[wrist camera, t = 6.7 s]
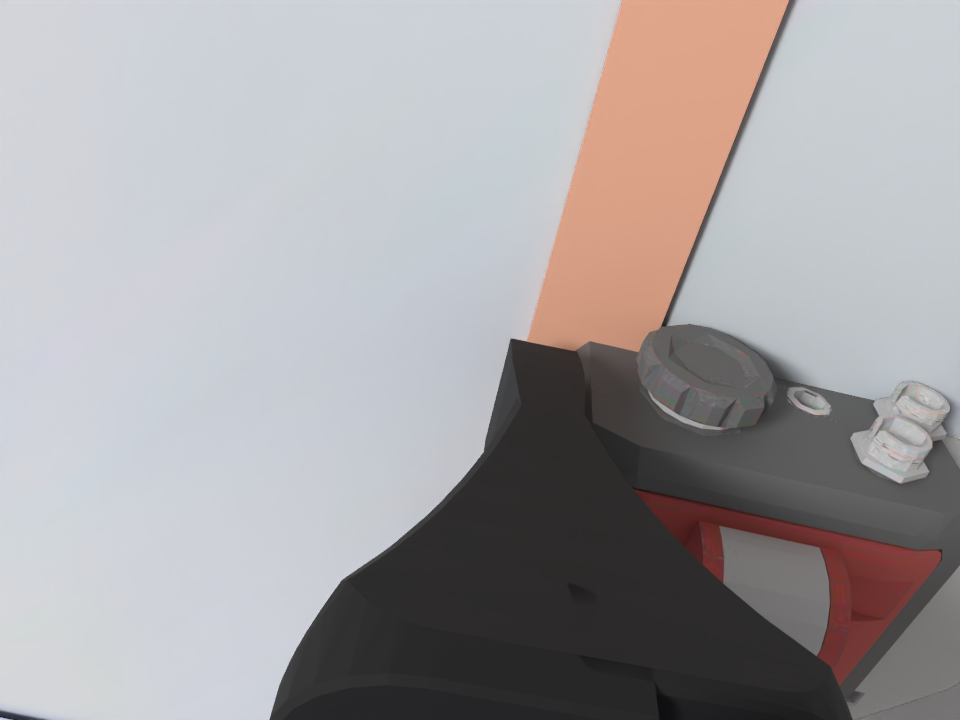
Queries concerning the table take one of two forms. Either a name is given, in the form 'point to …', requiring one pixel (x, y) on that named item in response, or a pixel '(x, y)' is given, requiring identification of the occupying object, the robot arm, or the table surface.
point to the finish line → (650, 164)
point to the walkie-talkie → (798, 501)
